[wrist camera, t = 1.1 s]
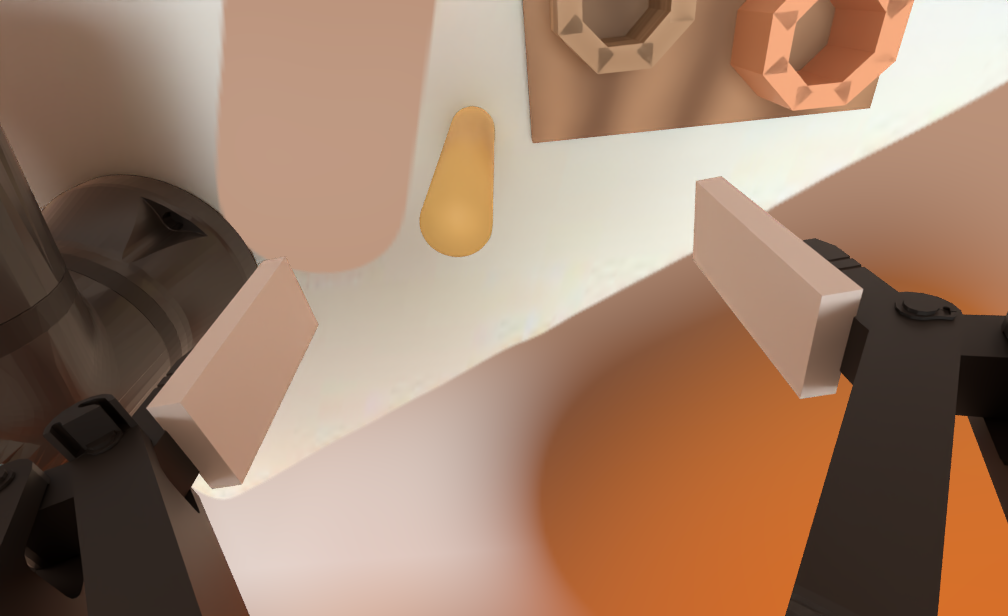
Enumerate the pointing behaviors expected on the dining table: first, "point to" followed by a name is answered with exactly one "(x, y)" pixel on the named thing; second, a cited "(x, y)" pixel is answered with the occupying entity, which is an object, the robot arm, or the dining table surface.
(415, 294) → the dining table surface
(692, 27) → the lacing board
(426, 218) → the dowel
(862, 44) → the bead rust
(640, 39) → the bead beech
